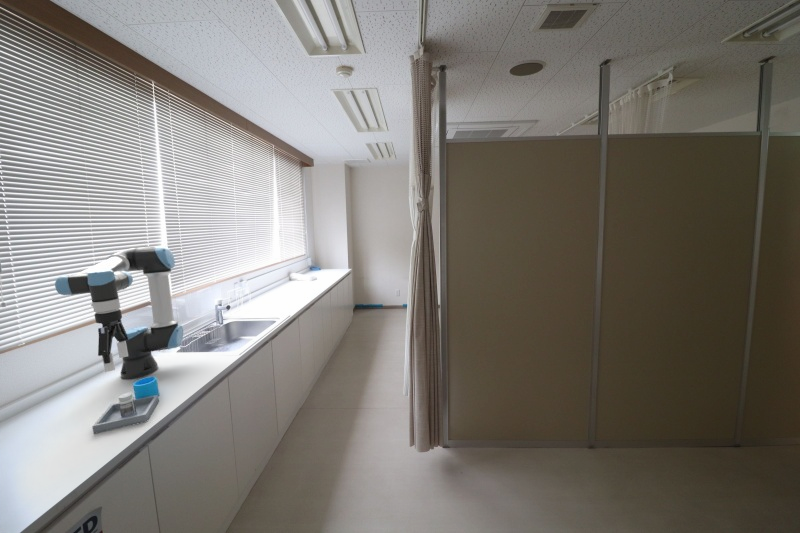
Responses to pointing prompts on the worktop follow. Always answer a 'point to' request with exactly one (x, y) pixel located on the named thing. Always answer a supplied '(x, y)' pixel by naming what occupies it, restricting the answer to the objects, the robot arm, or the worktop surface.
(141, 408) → the tray
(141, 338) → the robot arm
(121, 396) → the pill bottle
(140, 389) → the mug
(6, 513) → the worktop surface
